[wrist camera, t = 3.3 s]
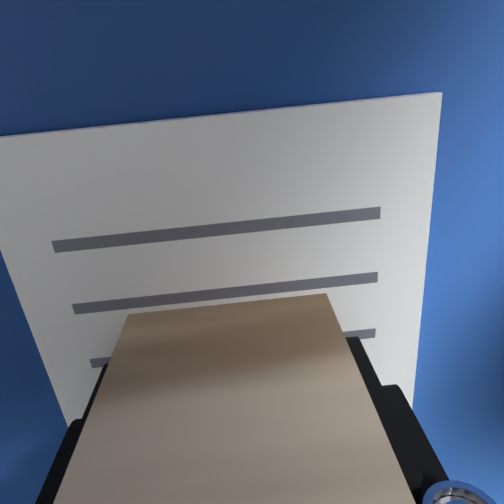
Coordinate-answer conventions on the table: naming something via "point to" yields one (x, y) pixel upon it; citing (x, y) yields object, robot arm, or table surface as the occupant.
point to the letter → (222, 225)
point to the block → (234, 413)
